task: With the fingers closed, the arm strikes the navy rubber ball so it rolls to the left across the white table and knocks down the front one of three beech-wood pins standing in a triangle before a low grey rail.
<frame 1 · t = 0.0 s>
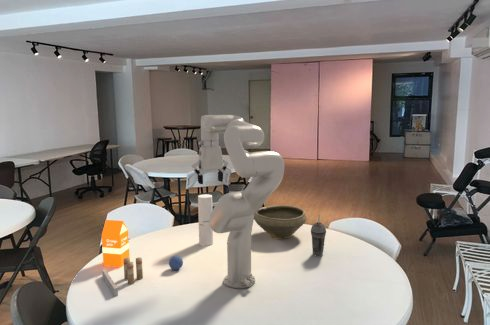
hand: (210, 182, 171), 37 cm above the table, tool pointing down, fingers open, 9 cm apart
pin left: (131, 283, 156), on the table
cylindrical container: (206, 243, 200), on the table
ball: (175, 262, 169), on the table
pin right: (127, 278, 161), on the table
bowl: (279, 235, 211), on the table
pin front: (139, 278, 161), on the table
beverage cup: (317, 254, 185), on the table
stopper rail: (109, 285, 154), on the table
orange juice: (116, 263, 176), on the table
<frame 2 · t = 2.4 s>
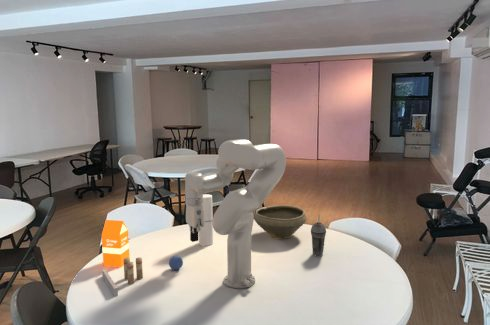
hand: (194, 240, 173), 11 cm above the table, tool pointing down, fingers closed
nothing on the table moved.
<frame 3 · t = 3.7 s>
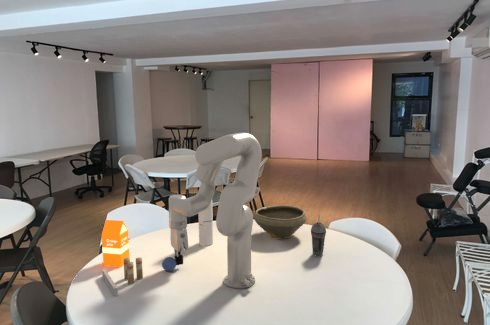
hand: (179, 264, 170), 2 cm above the table, tool pointing down, fingers closed
ball: (169, 264, 167), on the table
everything else where it was.
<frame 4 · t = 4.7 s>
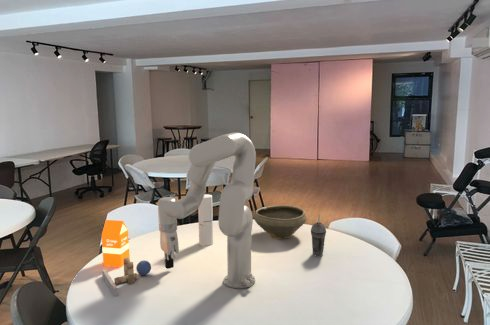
hand: (169, 267, 167), 2 cm above the table, tool pointing down, fingers closed
ball: (143, 267, 164), on the table
pin front: (136, 276, 160), point 1 cm above the table, tilted 90°
everything else where it was.
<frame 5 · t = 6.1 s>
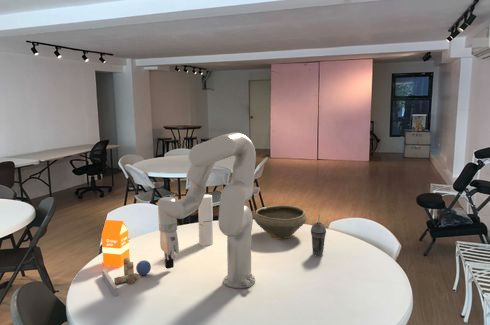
hand: (169, 267, 167), 2 cm above the table, tool pointing down, fingers closed
nothing on the table moved.
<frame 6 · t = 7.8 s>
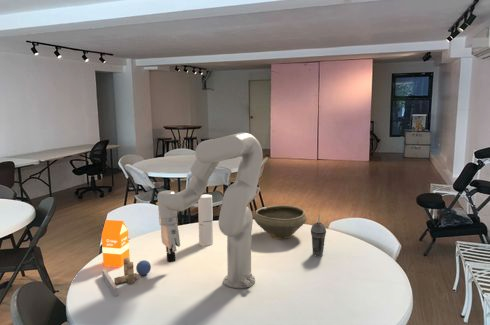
hand: (171, 261, 166), 4 cm above the table, tool pointing down, fingers closed
nothing on the table moved.
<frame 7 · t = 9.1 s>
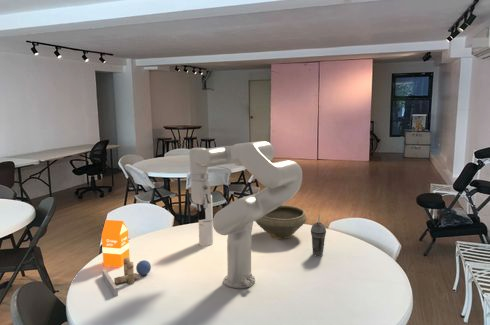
hand: (201, 219, 167), 22 cm above the table, tool pointing down, fingers closed
nothing on the table moved.
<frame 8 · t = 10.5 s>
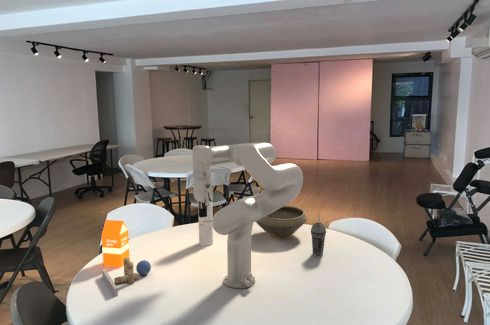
hand: (202, 216, 167), 23 cm above the table, tool pointing down, fingers closed
nothing on the table moved.
at the end: 1 of 3 knocked over (down: pin front; still standing: pin left, pin right); pin front never touched the robot; ball moved 13.7 cm from its start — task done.
